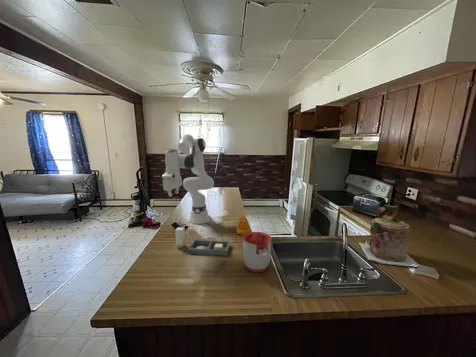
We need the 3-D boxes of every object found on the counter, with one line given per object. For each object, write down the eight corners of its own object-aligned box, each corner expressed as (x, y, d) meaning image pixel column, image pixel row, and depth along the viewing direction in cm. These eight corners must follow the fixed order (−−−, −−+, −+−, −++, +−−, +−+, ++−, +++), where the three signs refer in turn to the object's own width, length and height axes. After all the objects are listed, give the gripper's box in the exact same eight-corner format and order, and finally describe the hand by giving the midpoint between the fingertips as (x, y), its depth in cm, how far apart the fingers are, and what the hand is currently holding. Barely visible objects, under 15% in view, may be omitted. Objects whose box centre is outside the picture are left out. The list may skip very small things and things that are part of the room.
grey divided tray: (194, 243, 143) (194, 239, 143) (229, 245, 141) (229, 241, 140) (188, 253, 130) (187, 249, 130) (227, 255, 128) (227, 250, 128)
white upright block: (177, 243, 143) (177, 226, 141) (186, 244, 142) (186, 227, 141) (174, 248, 137) (173, 230, 135) (183, 248, 137) (182, 230, 135)
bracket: (237, 235, 158) (237, 219, 156) (236, 231, 165) (236, 216, 163) (251, 234, 159) (252, 219, 157) (250, 230, 166) (250, 215, 164)
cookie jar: (400, 248, 138) (406, 200, 133) (420, 269, 115) (429, 212, 110) (357, 243, 145) (362, 198, 140) (369, 262, 121) (375, 208, 116)
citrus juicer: (248, 279, 105) (248, 241, 102) (238, 261, 122) (239, 228, 119) (277, 274, 109) (278, 238, 106) (264, 257, 126) (265, 225, 123)
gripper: (175, 172, 150) (176, 191, 152) (160, 176, 130) (161, 198, 132) (183, 172, 149) (184, 192, 151) (170, 176, 129) (171, 198, 131)
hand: (173, 194), depth 142 cm, fingers open, 8 cm apart
